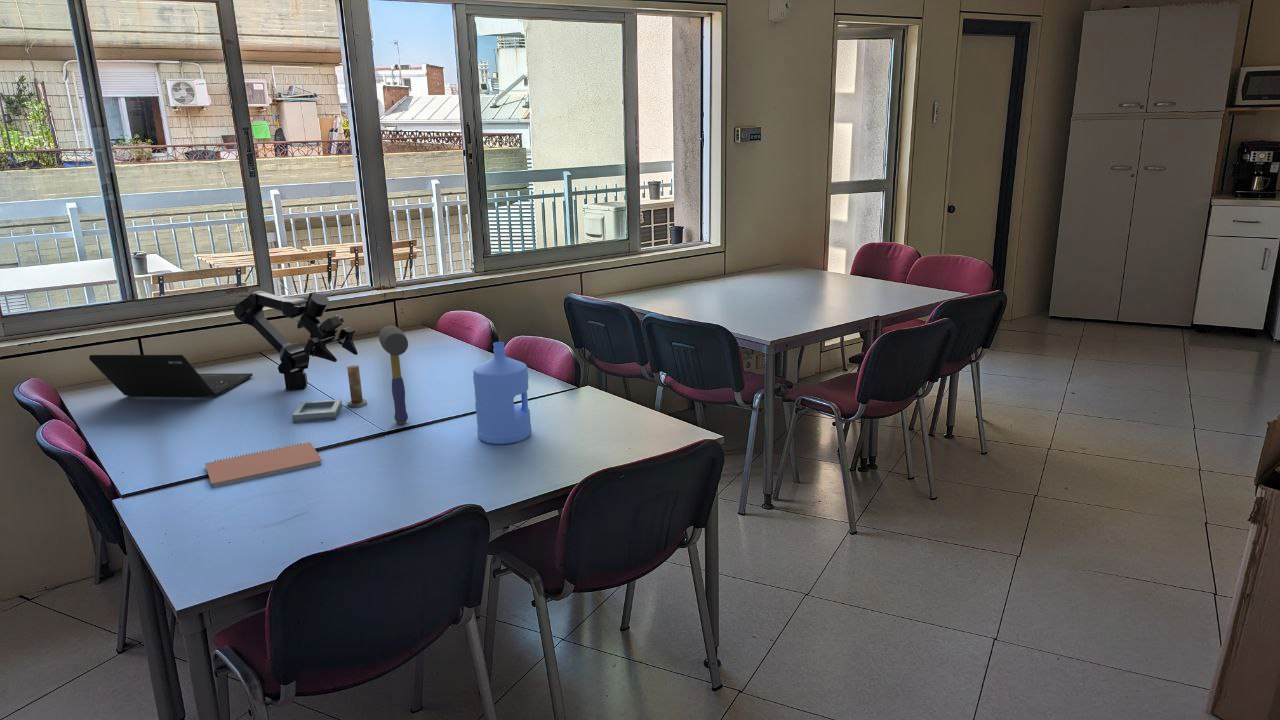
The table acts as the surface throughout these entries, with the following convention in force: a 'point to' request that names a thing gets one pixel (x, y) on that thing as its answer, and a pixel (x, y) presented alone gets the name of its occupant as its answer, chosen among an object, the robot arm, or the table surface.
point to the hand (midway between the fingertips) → (346, 357)
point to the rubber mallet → (396, 367)
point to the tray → (317, 410)
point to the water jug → (501, 399)
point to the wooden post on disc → (355, 387)
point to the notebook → (262, 464)
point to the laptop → (162, 376)
